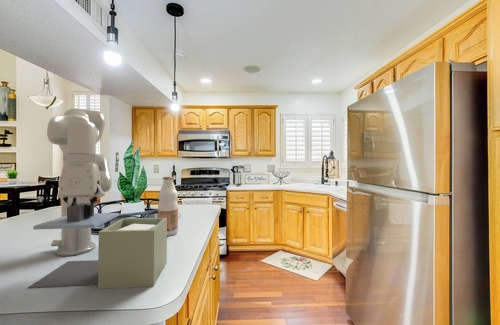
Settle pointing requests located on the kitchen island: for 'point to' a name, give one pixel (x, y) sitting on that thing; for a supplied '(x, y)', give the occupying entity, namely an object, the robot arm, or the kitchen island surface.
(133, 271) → the storage box
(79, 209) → the lid
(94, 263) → the mat
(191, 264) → the kitchen island surface
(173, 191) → the fruit juice
